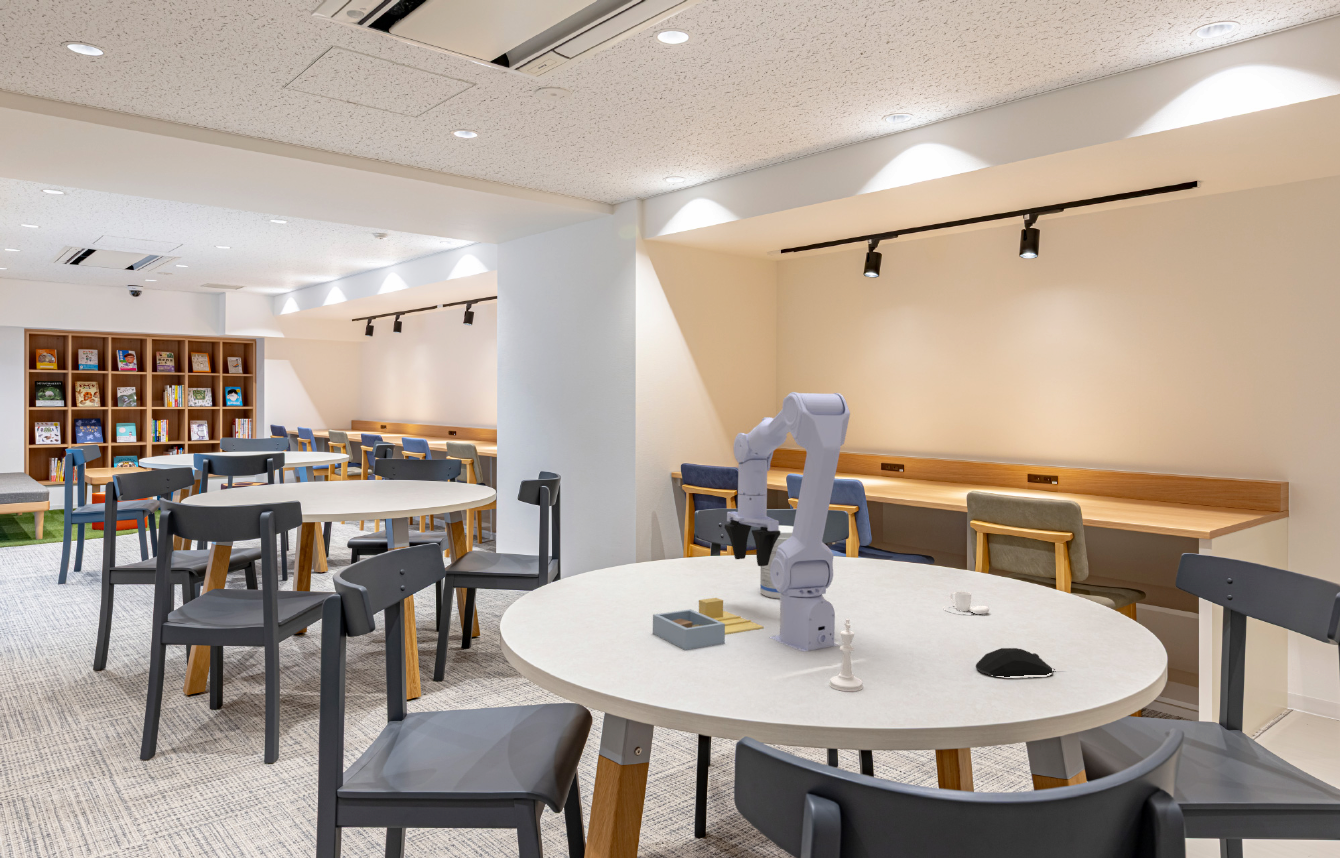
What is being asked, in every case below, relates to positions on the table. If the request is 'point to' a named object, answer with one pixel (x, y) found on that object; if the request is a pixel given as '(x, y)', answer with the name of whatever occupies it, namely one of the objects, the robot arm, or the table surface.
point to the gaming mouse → (1012, 663)
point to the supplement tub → (765, 578)
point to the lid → (726, 616)
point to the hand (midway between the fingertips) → (751, 562)
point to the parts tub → (689, 629)
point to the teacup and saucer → (967, 603)
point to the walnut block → (683, 623)
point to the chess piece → (846, 665)
